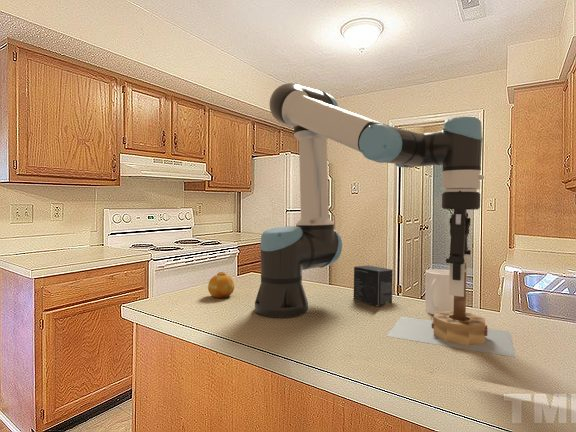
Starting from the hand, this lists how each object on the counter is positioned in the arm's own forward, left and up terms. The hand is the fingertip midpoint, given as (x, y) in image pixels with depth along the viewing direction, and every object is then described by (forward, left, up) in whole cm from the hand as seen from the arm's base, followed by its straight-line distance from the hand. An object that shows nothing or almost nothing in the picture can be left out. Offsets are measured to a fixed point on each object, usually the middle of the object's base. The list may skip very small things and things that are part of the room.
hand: (458, 288), depth 81 cm
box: (-25, +24, -12) cm, 37 cm away
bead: (0, 0, -10) cm, 10 cm away
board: (-2, 0, -11) cm, 12 cm away
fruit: (-71, +8, -12) cm, 72 cm away
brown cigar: (0, 0, -10) cm, 10 cm away
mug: (-6, +16, -12) cm, 21 cm away
